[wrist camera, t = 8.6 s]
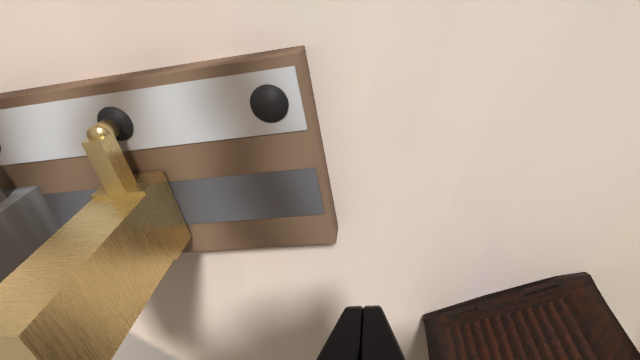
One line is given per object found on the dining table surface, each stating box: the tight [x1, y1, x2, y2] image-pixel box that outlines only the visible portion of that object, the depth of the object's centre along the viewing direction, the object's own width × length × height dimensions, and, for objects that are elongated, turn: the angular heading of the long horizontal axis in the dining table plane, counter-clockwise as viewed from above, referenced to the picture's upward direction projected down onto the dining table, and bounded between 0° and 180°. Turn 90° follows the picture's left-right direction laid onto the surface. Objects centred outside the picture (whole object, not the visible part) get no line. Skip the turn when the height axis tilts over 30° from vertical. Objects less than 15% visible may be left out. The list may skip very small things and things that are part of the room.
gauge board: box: [0, 46, 338, 283], centre depth 17 cm, size 20×10×12 cm, turn 100°
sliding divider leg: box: [0, 119, 191, 360], centre depth 17 cm, size 3×8×10 cm, turn 10°
